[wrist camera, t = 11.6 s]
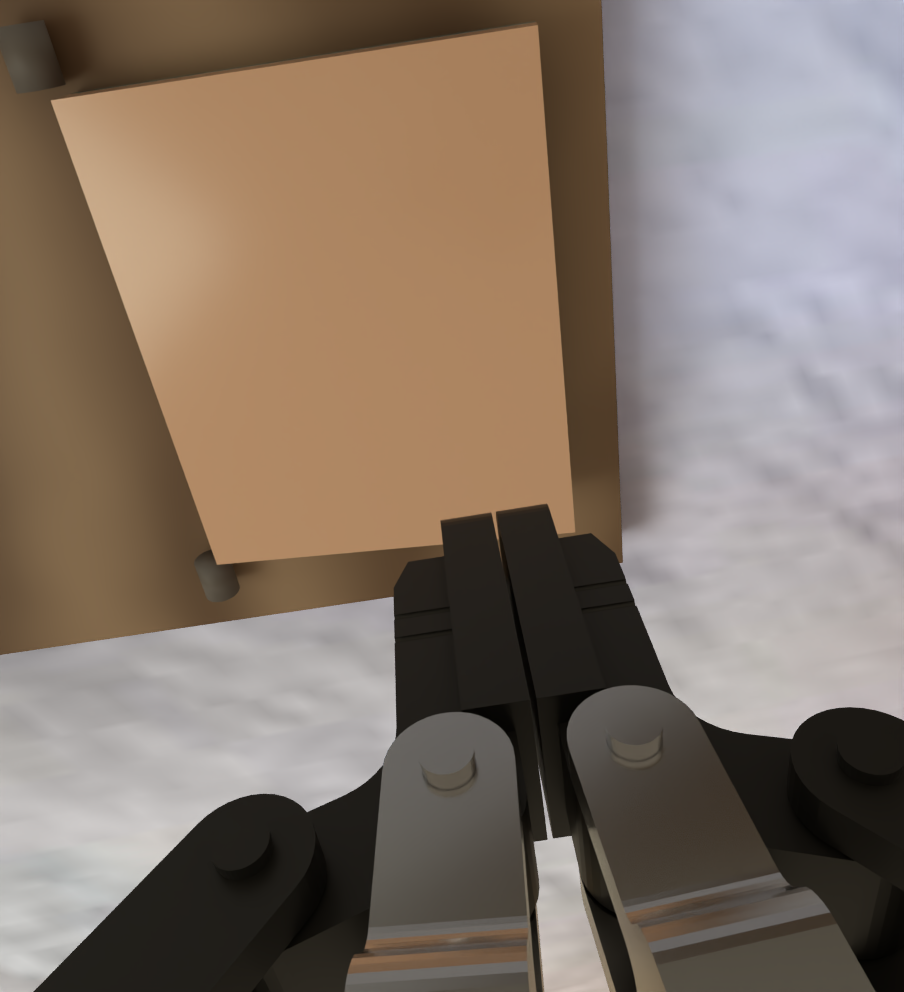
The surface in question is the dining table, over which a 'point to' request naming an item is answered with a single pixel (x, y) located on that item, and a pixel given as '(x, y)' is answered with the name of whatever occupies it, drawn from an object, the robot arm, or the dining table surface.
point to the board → (117, 357)
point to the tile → (341, 286)
